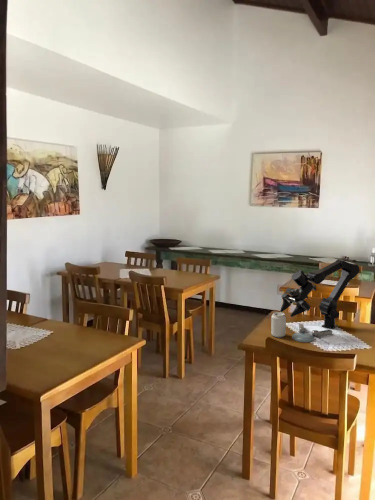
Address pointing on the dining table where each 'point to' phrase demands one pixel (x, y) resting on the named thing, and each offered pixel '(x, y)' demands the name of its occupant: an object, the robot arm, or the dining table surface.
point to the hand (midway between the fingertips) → (285, 314)
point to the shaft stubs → (315, 331)
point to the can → (278, 324)
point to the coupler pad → (303, 337)
